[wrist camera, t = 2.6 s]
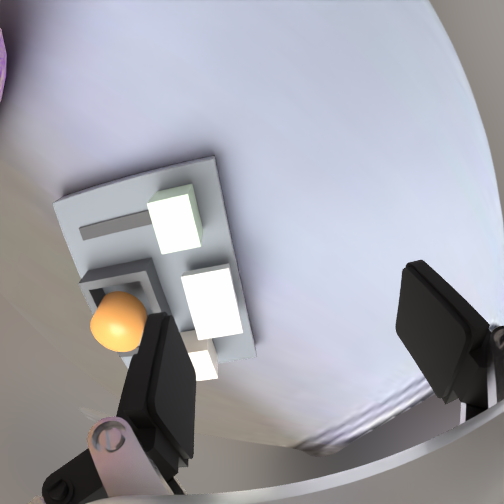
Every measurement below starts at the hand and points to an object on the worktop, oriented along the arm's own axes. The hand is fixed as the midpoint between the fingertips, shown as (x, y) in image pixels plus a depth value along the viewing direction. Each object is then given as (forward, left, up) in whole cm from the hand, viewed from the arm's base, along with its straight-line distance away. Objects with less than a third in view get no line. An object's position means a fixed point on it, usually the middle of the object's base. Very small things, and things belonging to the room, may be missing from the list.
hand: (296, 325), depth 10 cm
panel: (+10, +7, -18) cm, 22 cm away
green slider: (+6, 0, -16) cm, 17 cm away
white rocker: (+5, +8, -14) cm, 17 cm away
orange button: (+13, +7, -13) cm, 20 cm away
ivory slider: (+8, +14, -16) cm, 23 cm away
